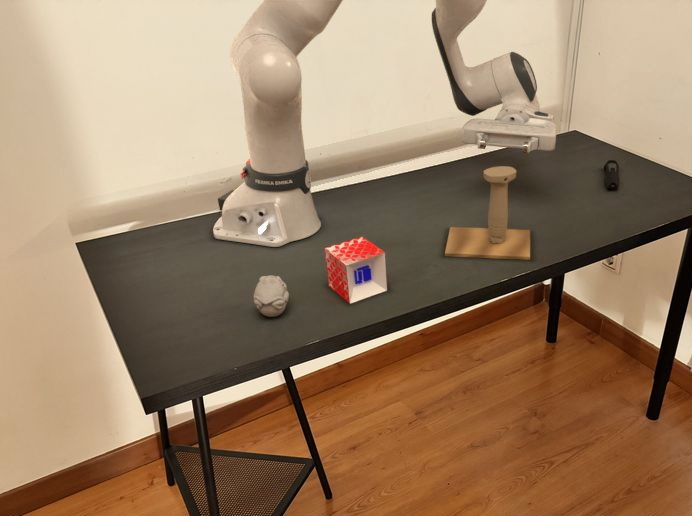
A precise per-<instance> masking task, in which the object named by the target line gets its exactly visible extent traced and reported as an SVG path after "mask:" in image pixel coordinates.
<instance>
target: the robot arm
mask: <svg viewBox="0 0 692 516" xmlns="http://www.w3.org/2000/svg"><path fill="white" fill-rule="evenodd" d="M343 1H344V0H263V1H262V2H261V4H260V5H259V6H257V8H256V9H255V11H254V12H253V13H252V14H251V16H250V17H249V19H248V20H246V22H245V23H244V25H243V26H242V28H241V29H240V31H239V32H237V33H236V34H235V36H234V37H233V39H232V41H231V44H230V49H229V61H230V65H231V67H232V69H233V71H234V73H235V75H236V77H237V79H238V82H239V84H240V85H239V86H240V88H241V95H242V96H241V97H242V104H243V105H242V106H243V116H244V133H245V138H246V145H247V150H248V157H249V159H248V160H246V162H245V165H244V167H243V168H242V170H241V173H240V179H241V180H243V179H244V182H243V183H241V184H240V185H239V186H238V187H237V188H235V189H234V190H233V189H231V190H230V191H227V192H226V193H224V194H222V196H219V197H218V198H217V204H218V208H219V211H221V216H220V217H219V218H218V220H217V221H216V222H215V223H214V226H213V229H212V232H213V233H212V234H213V237H214V238H215V239H217V240H223V241H231V242H236V243H237V242H238V243H242V244H243V243H244V244H251V245H258V246H264V247H272V248H279V247H282V246H284V245H287V244H288V243H291V242H294V241H299V240H303V239H306V238H308V237H311V236H313V235H314V234H316V233H317V232H318V231H319V230H320V229H321V226H322V222H321V220H320V218H319V214H318V212H317V209H316V206H315V203H314V200H313V196H312V191H311V188H312V178H311V177H312V176H311V170H310V166H309V162H308V160H307V158H306V152H305V143H304V134H303V124H302V123H303V122H302V114H303V113H302V111H303V110H302V109H303V107H302V106H303V98H302V97H303V93H302V84H303V83H302V81H303V79H302V70H301V66H300V62H299V60H298V56H299V55H300V54H301V53H302V52H303V50H304V49H305V48H306V47H307V46H308V45H309V44H310V43H311V42H312V41H313V40H314V39H315V38H316V37H318V35H320V34H322V33H323V32H324V31H325V29H326V28H327V26H328V25H329V23H330V21H331V19H332V18H333V17H334V15H335V14H336V12H337V11H338V9H339V7H340V5H341V4H342V2H343ZM487 1H488V0H435V8H434V9H433V10H432V12H431V28H432V32H433V35H434V39H435V42H436V46H437V48H438V49H437V50H438V52H439V56H440V58H441V61H442V64H443V66H444V70H445V73H446V76H447V80H448V82H449V86H450V90H451V94H452V98H453V99H452V100H453V101H454V102H453V103H454V104H455V106H456V109H458V111H460V112H462V113H464V114H466V115H468V116H470V117H471V116H472V117H474V116H477V115H479V114H481V113H483V112H485V111H487V110H489V109H492V108H494V107H496V106H499V105H502V107H501V108H500V109H499V112H498V113H497V115H496V116H495V119H489V118H472V119H469V120H468V121H466V122H465V123H464V124H463V125H462V127H461V142H462V143H463V144H465V145H476V146H477V149H479V150H486V148H487V146H488V147H500V148H510V149H522V153H525V154H530V153H531V152H532V151H543V152H544V151H545V152H552V151H555V149H556V143H557V130H558V129H557V125H556V123H555V116H554V115H553V114H550V113H546V112H542V111H541V107H540V101H539V98H538V96H537V95H536V94H537V91H538V84H537V80H536V75H535V73H534V70H533V68H532V66H531V63H530V62H529V61H528V60H527V59H526V57H524V56H522V55H521V54H520V53H517V52H516V51H511V52H507V53H505V54H503V55H500V56H497V57H494V58H492V59H490V60H487V61H485V62H483V63H480V64H477V65H475V66H466V65H465V62H464V58H463V55H462V52H461V48H460V45H459V42H458V37H459V36H460V35H461V33H462V32H463V31H464V30H465V29H466V28H467V27H468V26H469V25H470V24H471V23H472V22H473V21H475V20H476V18H478V16H479V15H480V14H481V12H482V11H483V9H484V7H485V6H486V3H487Z"/></svg>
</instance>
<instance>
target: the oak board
mask: <svg viewBox="0 0 692 516" xmlns="http://www.w3.org/2000/svg"><path fill="white" fill-rule="evenodd" d="M489 235H490V234H489V229H488V227H463V226H450V227H449V231H448V237H447V241H446V246H445V251H444V257H450V258H451V257H452V258H474V259H496V260H497V259H498V260H499V259H500V260H519V261H530V260H531V230H530V229H517V228H516V229H515V228H513V229H512V228H507V230H506V234H505V235H506V237H505V241H503V242H502V243H501V244H498V243H494V244H493V243H492V242H491V241H490V240H489Z"/></svg>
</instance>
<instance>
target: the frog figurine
mask: <svg viewBox="0 0 692 516" xmlns="http://www.w3.org/2000/svg"><path fill="white" fill-rule="evenodd" d="M258 280H259V282H257V283H256V285H255V286H256V287H255V289H254V293H253V303H254V305H255V306H256V309H258V311H259V313H261V314H262V315H264V316H266V317H270V318H274V317H275V318H276V317H278V316H280V315H281V314H283V312H284V311H285V309H286V306H287V304H288V303H289V297H290V294H289V291H288V288H287V284H286V283H285V282H284V281H283V280H282V278H281V277H280V276H278V275H272V274H271V275H270V274H269V275H262V276H260V277H259V279H258Z"/></svg>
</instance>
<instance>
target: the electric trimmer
mask: <svg viewBox="0 0 692 516" xmlns="http://www.w3.org/2000/svg"><path fill="white" fill-rule="evenodd" d="M603 170H604V171H605V176H604V182H605V185H606V188H607V189H609V190H618V189H619V186H620V174H619V170H620V165H619V163H618V161H617V160H616V159H609V160H607V161H606V162H605V163H604V165H603Z"/></svg>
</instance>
